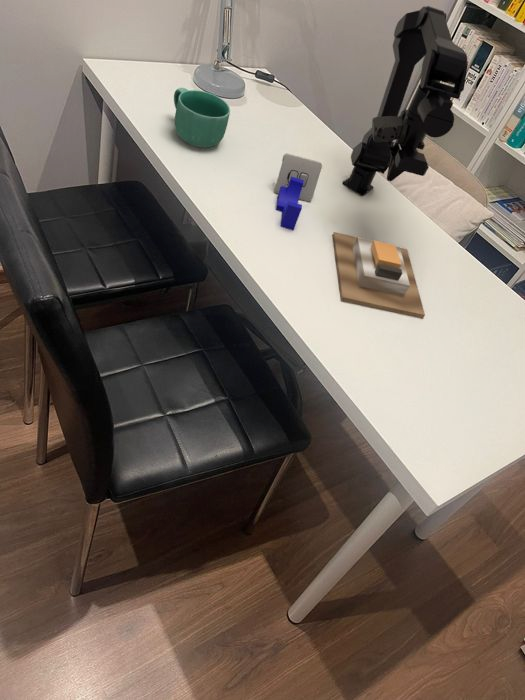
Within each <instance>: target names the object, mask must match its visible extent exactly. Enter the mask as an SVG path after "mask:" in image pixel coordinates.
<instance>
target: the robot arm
mask: <svg viewBox="0 0 525 700" xmlns="http://www.w3.org/2000/svg"><path fill="white" fill-rule="evenodd" d="M447 16H448V15H447V13H446V12H445V11H444V10H443V9H439V8H436V7H433V6H430V5H427V6H425V5H424V6H422V7H421V8H420V9H419V10H415V11H411V12H406V13H405V14H404V15H403V16H402V17H401V18H400V19H399V20H398V21H397V24H396V25H395V27H394V28H395V29H394V33H393V37H394V39H393V42H392V50H393V55H394V63H393V66H392V69H391V72H390V75H389V78H388V82H387V85H386V88H385V90H384V91H385V92H384V94H383V97H382V100H381V102H380V103H381V104H380V107H379V110H378V112H377V116H376V117H373V118H372V121H371V128H370V129H369V130H368V131H367V132H366V133H364V134H363V137H362V140H361V142H359V143H358V144H357V145H355V146H354V147H353V149H352V150H351V154H350V161H351V165H352V171H351V173H350V175H349V177H348V178H346V179H345V180H343V181H342V183H341V184H342V185H344V187H347V188H348V189H349V190H351V191H354V192H355V193H357V194H358V195H360V196H361V197H362V196H366V195H367V194H368V193H370V192H371V191H372V190H374V188H375V187H374V186H373V185H371V184H372V182H373V180H374V177H375V176H376V173H380V174H385V172H387V174H386V181H389V182H393V181H394V180H395V179H396V178H398V177H399V176H400V175H402V174H403V173H404V172H407V173H410V174H414V175H417V176H420V177H423V176H425V175H426V173H427V171H428V169H429V168H430V167H429V165H428V161H427V159H426V156H425V154H424V153H422V152H420V151H419V150H422V151H423V150H424V148H425V146H426V145H425V142H424V140H425V138H426V137H427V136H428V137H430V138H441V137H443V136H445V135H447V134H448V133H449V132H450V131H451V130H452V128H453V127H454V124H455V123H454V122H455V115H454V113H453V110H452V107H453V105H454V102H453V100H451V99H452V98H453V99H456V100H459V99H460V98H461V93H462V92H463V91H464V89H465V84H466V80H467V79H466V78H467V73H468V65H469V61H468V55H467V53H466V52H465V51H464V48H462V47H460V46H458V45H457V44H455V42H454V41H453V39H452V36H451V33H450V32H451V31H450V30H449V26H448V24H447ZM422 59H423V60H422ZM421 60H422V64H421V65H422V66H421V72H420V73H421V74H420V81H419V82H420V83H419V84H418V86H417V88H416V91H414V92H415V93H414V95H413V97H412V99H411V101H410V103H409V105H408V108H407V109H406V108H404V109H403V110H402V111H401V109H402V108H401V107H402V105H403V102H404V100H405V96H406V93H407V90H408V87H409V84H410V81H411V78H412V75H413V72H414V69H415V67H416V65H417V64H418V63H419V62H421Z"/></svg>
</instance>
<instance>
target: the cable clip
mask: <svg viewBox="0 0 525 700" xmlns="http://www.w3.org/2000/svg"><path fill="white" fill-rule="evenodd" d="M303 184H304V180H301V179H298V178H295V177H291V179H290V181H289V184H288V185H287V186H285V187H283V186H281V188H280V191H279V194H277V198H276V207H275V210H276V211H278V212H281V218H280V219H281V221H280V227H281V228H282V229H283V228H284V229H287V230H290V231H294V230H295V228H296V225H297V222H298V220H299V218H300V214H301V211H302V209H303V208H302V207H303V205H302V204H300V203H299V200H300V199H299V196H300V193H301V189H302V186H303Z"/></svg>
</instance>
